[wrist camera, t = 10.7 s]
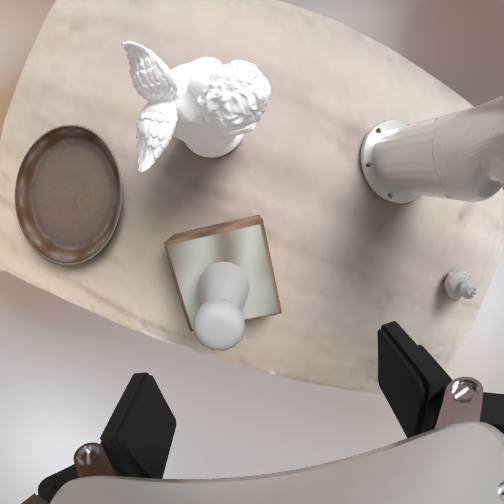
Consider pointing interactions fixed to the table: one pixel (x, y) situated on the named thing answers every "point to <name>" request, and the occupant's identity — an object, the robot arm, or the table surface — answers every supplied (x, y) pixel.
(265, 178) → the table surface
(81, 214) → the plant saucer
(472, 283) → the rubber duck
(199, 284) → the salt shaker
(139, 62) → the cherub figurine
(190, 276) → the square box
